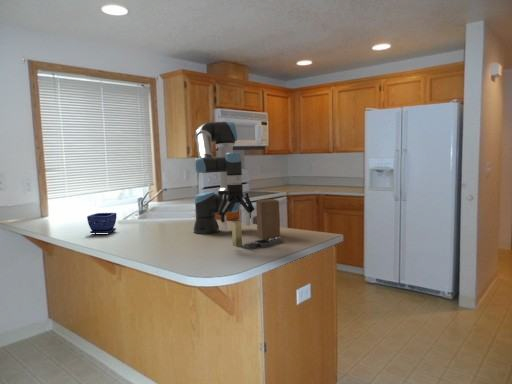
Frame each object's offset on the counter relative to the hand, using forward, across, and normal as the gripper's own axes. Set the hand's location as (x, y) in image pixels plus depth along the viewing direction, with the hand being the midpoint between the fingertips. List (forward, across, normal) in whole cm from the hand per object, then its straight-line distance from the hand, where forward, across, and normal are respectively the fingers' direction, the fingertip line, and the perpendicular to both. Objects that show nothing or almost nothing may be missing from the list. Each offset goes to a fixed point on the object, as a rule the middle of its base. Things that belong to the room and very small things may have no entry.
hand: (236, 227), depth 191 cm
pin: (+9, 0, 0) cm, 9 cm away
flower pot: (+9, -44, +86) cm, 96 cm away
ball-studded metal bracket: (+9, +9, -8) cm, 16 cm away
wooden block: (+9, +23, +6) cm, 26 cm away
